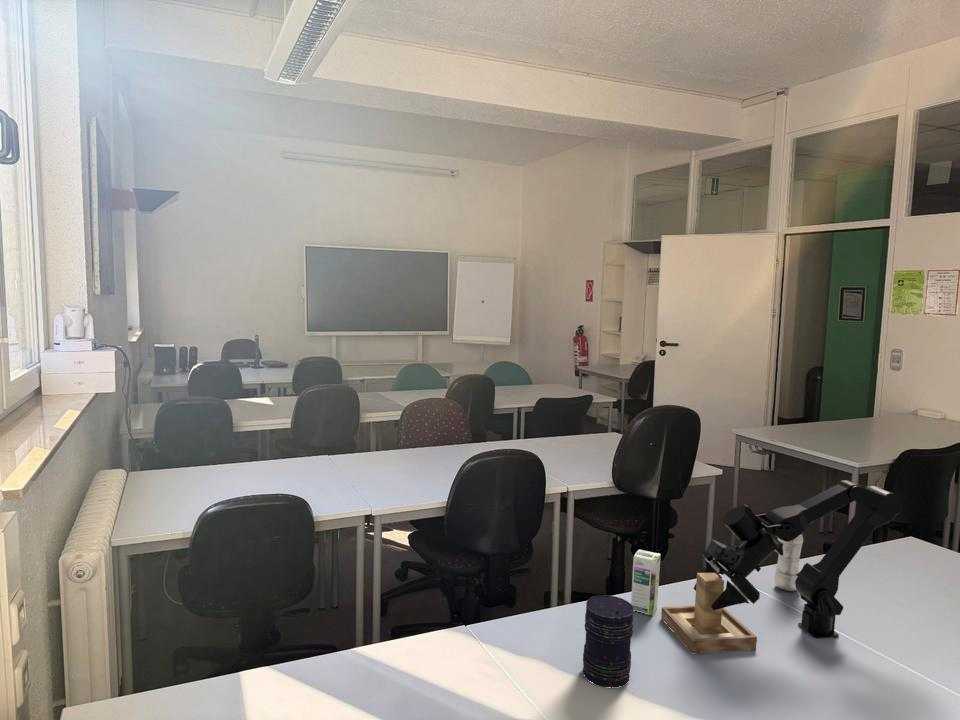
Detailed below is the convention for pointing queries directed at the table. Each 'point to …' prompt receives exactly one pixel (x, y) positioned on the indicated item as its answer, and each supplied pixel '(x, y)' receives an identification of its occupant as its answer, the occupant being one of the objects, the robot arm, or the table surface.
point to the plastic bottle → (788, 564)
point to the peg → (707, 603)
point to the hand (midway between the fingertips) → (703, 599)
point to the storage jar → (608, 640)
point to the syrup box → (645, 581)
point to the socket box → (728, 640)
